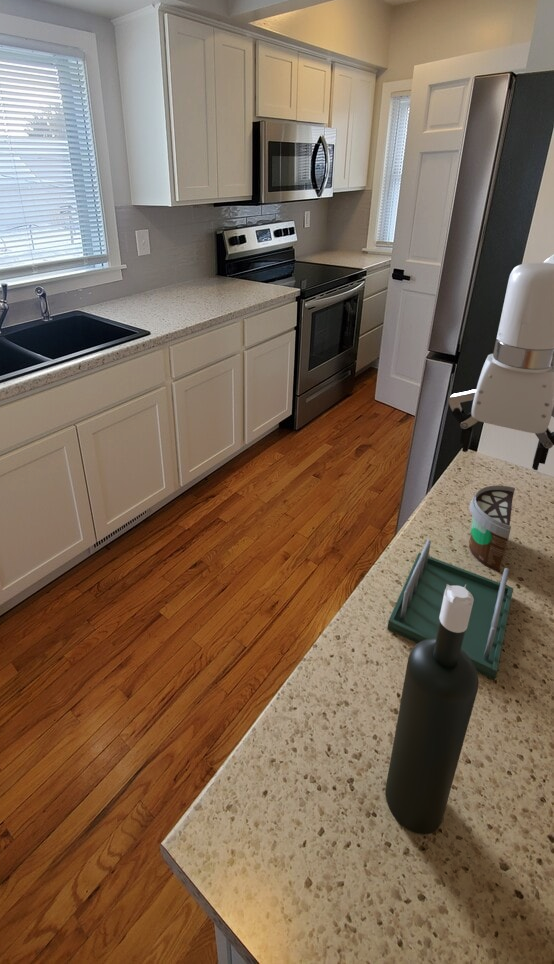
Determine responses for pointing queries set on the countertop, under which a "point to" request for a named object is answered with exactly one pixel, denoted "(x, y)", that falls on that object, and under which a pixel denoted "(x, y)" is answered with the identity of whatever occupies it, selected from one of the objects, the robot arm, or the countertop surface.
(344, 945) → the countertop surface
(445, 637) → the wine bottle
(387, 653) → the countertop surface
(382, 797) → the countertop surface
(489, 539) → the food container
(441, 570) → the drying rack
